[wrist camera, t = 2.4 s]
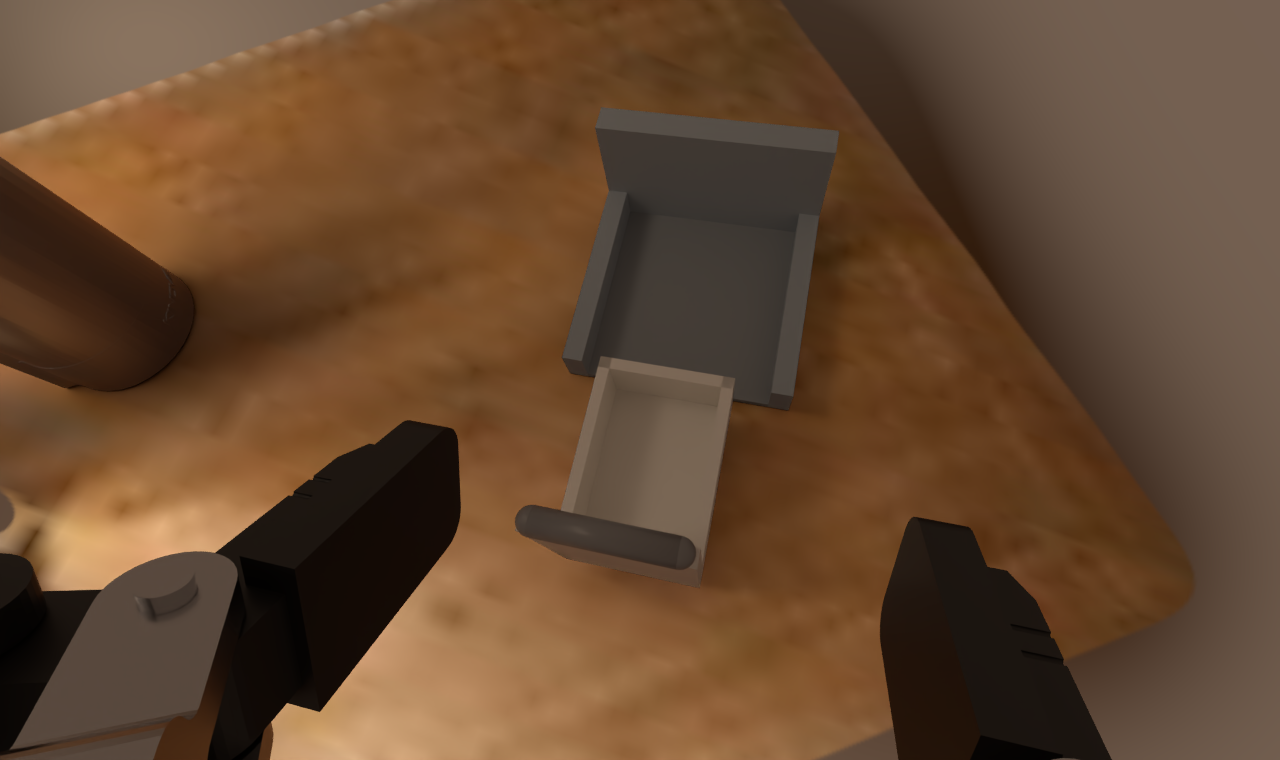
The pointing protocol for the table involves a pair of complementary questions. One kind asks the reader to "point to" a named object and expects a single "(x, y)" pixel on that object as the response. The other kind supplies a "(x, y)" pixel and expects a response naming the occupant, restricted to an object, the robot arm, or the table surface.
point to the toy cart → (642, 473)
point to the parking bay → (703, 249)
